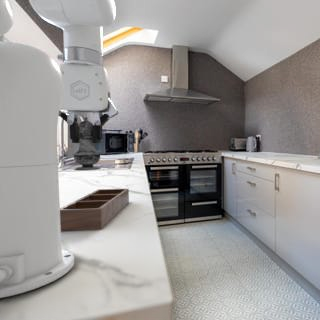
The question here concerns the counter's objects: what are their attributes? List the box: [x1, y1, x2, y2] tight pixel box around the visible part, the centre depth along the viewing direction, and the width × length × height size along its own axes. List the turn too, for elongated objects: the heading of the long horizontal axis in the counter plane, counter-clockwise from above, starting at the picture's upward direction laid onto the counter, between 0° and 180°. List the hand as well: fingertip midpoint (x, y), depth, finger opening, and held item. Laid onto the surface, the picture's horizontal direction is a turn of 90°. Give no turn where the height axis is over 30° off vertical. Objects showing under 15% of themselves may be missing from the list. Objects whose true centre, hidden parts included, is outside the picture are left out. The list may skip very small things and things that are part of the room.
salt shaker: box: [71, 116, 102, 171], centre depth 60 cm, size 6×6×12 cm
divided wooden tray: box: [60, 188, 130, 232], centre depth 67 cm, size 25×9×4 cm, turn 10°
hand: (86, 142), depth 60 cm, fingers closed on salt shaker, 3 cm apart
